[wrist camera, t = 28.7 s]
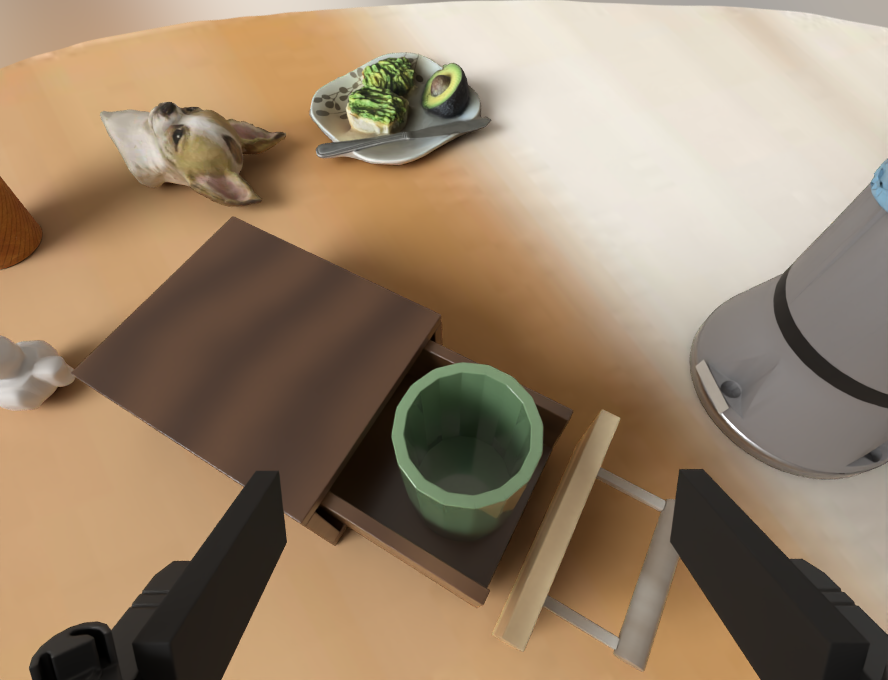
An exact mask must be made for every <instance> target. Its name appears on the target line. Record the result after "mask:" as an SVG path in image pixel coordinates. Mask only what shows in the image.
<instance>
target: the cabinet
mask: <svg viewBox="0 0 888 680" xmlns="http://www.w3.org/2000/svg"><path fill="white" fill-rule="evenodd" d="M429 340H431V341H433V342H435V343H437V344H439V345H441V346H442V322H441V315H440V314H438V313H436V312H434V311H432V310H430V309H428V308H426V307H423V306H421V305H419V304H417V303H415V302H413V301H411V300H409V299H407V298H404V297H402V296H400V295H398V294H396V293H394V292H392V291H390V290H388V289H385V288H383V287H381V286H379V285H377V284H375V283H373V282H371V281H369V280H366V279H364V278H362V277H360V276H358V275H356V274H354V273H352V272H350V271H347V270H345V269H343V268H341V267H339V266H337V265H335V264H333V263H331V262H328V261H326V260H324V259H322V258H320V257H318V256H316V255H314V254H312V253H309V252H307V251H305V250H303V249H301V248H299V247H297V246H295V245H293V244H290V243H288V242H286V241H284V240H282V239H280V238H278V237H276V236H274V235H271V234H269V233H267V232H265V231H263V230H261V229H259V228H257V227H255V226H252V225H250V224H248V223H246V222H244V221H242V220H240V219H238V218H236V217H231V218H230V219H229V220H228V221H227V222H226V223H225V224H224V225H223V226H222V227H221V228H220V229H219V230H218V231H217V232H216V233H215V234H214V235H213V236H212V237H211V238H210V239H209V240H208V241H207V242H206V243H205V244H203V245H202V246H201V247H200V248H199V249H198V250H197V251H196V252H195V253H194V254H193V255H192V256H191V257H190V258H189V259H188V260H187V261H186V262H185V263H184V264H183V265H182V266H181V267H180V268H179V269H178V270H177V271H176V272H175V273H173V274H172V275H171V276H170V277H169V278H168V279H167V280H166V281H165V282H164V283H163V284H162V285H161V286H160V287H159V288H158V289H157V290H156V291H155V292H154V293H153V294H152V295H151V296H150V297H149V298H148V299H147V300H146V301H145V302H144V303H142V304H141V305H140V306H139V307H138V308H137V309H136V310H135V311H134V312H133V313H132V314H131V315H130V316H129V317H128V318H127V319H126V320H125V321H124V322H123V323H122V324H121V325H120V326H119V327H118V328H117V329H116V330H115V331H114V332H112V333H111V334H110V335H109V336H108V337H107V338H106V339H105V340H104V341H103V342H102V343H101V344H100V345H99V346H98V347H97V348H96V349H95V350H94V351H93V352H92V353H91V354H90V355H89V356H88V357H87V358H86V359H85V360H84V361H82V362H81V363H80V364H79V365H78V366H77V367H76V368H75V369H74V370H73V371H72V372H71V375H73V376H74V377H76V378H77V379H79V380H80V381H82V382H83V383H85V384H87V385H88V386H90V387H91V388H93V389H94V390H96V391H97V392H99V393H100V394H102V395H103V396H105V397H107V398H108V399H110V400H111V401H113V402H114V403H116V404H117V405H119V406H120V407H122V408H123V409H125V410H126V411H128V412H130V413H131V414H133V415H134V416H136V417H137V418H139V419H140V420H142V421H143V422H145V423H146V424H148V425H150V426H151V427H153V428H154V429H156V430H157V431H159V432H160V433H162V434H163V435H165V436H166V437H168V438H169V439H171V440H173V441H174V442H176V443H177V444H179V445H180V446H182V447H183V448H185V449H186V450H188V451H189V452H191V453H193V454H194V455H196V456H197V457H199V458H200V459H202V460H203V461H205V462H206V463H208V464H209V465H211V466H212V467H214V468H216V469H217V470H219V471H220V472H222V473H223V474H225V475H226V476H228V477H229V478H231V479H232V480H234V481H236V482H237V483H239V484H240V485H242V486H243V487H245V485H246V484H247V482H248V481H249V480H250V478H251V477H252V476H253V474H254V473H255V471H279V474H280V483H281V493H282V502H283V511H284V513H285V514H286V515H288V516H289V517H291V518H292V519H294V520H295V521H297V522H299V523H300V524H302V525H303V526H305V527H306V528H308V529H309V530H311V531H312V532H314V533H316V534H317V535H319V536H320V537H322V538H323V539H325V540H326V541H328V542H330V543H331V544H333V545H334V546H335V545H336V544H337V542H338V541H339V539H340V537H341V536H342V534H343V533H344V531H345V529H346V528H347V526H346V525H345V524H343V523H341V522H340V521H338V520H337V519H335V518H334V517H332V516H330V515H329V514H327V513H326V512H324V511H323V510H321V509H319V508H318V506H319V505H320V503H321V502H322V500H323V499H324V497H325V496H326V494H327V493H328V491H329V490H330V488H331V487H332V485H333V484H334V482H335V481H336V479H337V478H338V476H339V475H340V473H341V472H342V470H343V469H344V467H345V466H346V464H347V463H348V461H349V460H350V458H351V457H352V455H353V454H354V452H355V451H356V449H357V448H358V446H359V445H360V443H361V442H362V440H363V439H364V437H365V436H366V434H367V433H368V431H369V430H370V428H371V427H372V425H373V424H374V422H375V421H376V419H377V418H378V416H379V415H380V413H381V412H382V410H383V409H384V407H385V406H386V404H387V403H388V401H389V400H390V398H391V397H392V395H393V394H394V392H395V391H396V389H397V388H398V386H399V385H400V383H401V382H402V380H403V379H404V377H405V376H406V374H407V373H408V371H409V370H410V368H411V367H412V365H413V364H414V362H415V361H416V359H417V358H418V356H419V355H420V353H421V352H422V350H423V349H424V347H425V346H426V344H427V343H428V341H429Z"/></svg>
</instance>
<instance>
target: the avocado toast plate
mask: <svg viewBox="0 0 888 680" xmlns="http://www.w3.org/2000/svg"><path fill="white" fill-rule="evenodd" d="M310 116H311V118H312V120H313V121H314V122H315V123H316V124H317V126H318V127H319V128H320V129H321V130H322V131H323V132H324V134H325V135H326V136H327V137H329V138H330V139H331V140H332V141H333V143H325V144H321V145H319V146H318V147H317V148H316V153H317V156H318V157H320V158H335V157H350V158H355V159H359V160H362V161H365V162H368V163H373V164H389V165H402V164H405V163H409V162H412V161H414V160H417V159H419V158H421V157H423V156H425V155H427V154H428V153H430V152H432V151H433V150H435V149H437V148H438V147H440V146H442V145H444V144H446V143H448V142H450V141H452V140H453V139H455V138H457V137H459V136H461V135H464V134H467V133H469V132H472V131H475V130H478V129H481V128H483V127H485V126H487V124H488V123H489V122H490V121H491V119H489V118H488V117H481V103H480V98H479V96H478V94H477V93H476V92H475V91H474V90H473V89H472V88H471V87H470V86H469V85H468V83H467V78H466V76H465V74H464V71H463V70H462V68H461V67H460V66H459V65H457V64H455V63H450V64H448V65H443V68H442V67H441V66H439V65H438V64H437V63H435V62H434V61H432V60H431V59H429V58H427V57H425V56H422V55H419V54H415V53H407V52H405V53H390V54H386V55H382V56H380V57H377V58H375V59H373V60H371V61H370V62H368V63H366V64H364V65H363V66H361V67H359V68H357V69H355V70H354V71H352V72H349V73H348V74H346V75H344V76H342V77H338V78H337V79H336V80H333V81H332V82H330V83H328V84H326V85H324V86H323V87H321V88H320V89H319V90H318V91H317V92H316V93H315V95H314V97H313V99H312V103H311V109H310Z"/></svg>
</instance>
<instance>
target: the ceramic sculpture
mask: <svg viewBox="0 0 888 680" xmlns="http://www.w3.org/2000/svg"><path fill="white" fill-rule="evenodd" d="M100 116H101V120H102V122H103V123H104V125H105V127H106V130H107V132H108V134H109V136H110V138H111V139H112V141H113V142H114V144H115V145H116V147H117V148H118V150H119V152H120V154H121V155H122V157H123V159H124V161H125V163H126V165H127V167H128V169H129V171H130V172H131V173H132V174H133V175H134V177H135V178H136V179H137V180H138V181H139V182H140V183H141V184H143V185H145V186H148V187H160V186H161V185H162V184H163V183H164V182H171V183H175V184H181V185H186V186H190V187H191V188H192V189H193V190H195V191H196V192H198V193H199V194H201V195H204V196H205V197H206V198H209V199H210V200H212V201H214V202H217V203H219V204H222V205H225V206H245V205H250V204H255V203H259V202H261V201H262V199H261V198H260V197H259V196H257V195H256V194H255V192H254V191H253V189H252V188H251V186H250V185H249V184H248V182H247V181H246V180H245V179H243V178H242V177H241V176H240V175H239V172H240V171H241V169H242V166H243V154H260V153H263V152H264V151H266V150H268V149H270V148H271V147H273V146H274V145H276V144H277V143H279V142H280V141H281V140H283V139H284V138H285V137H286V133H283V132H274V133H272V132H268V131H266V130H264V129H262V128H259V127H255V126H254V125H253V124H249V123H247V122H244V121H241V122H239V121H236V120H234V119H229V120H226V119H225V118H224V117H222V116H221V115H219V114H218V113H216V112H214V111H212V110H201V109H200V108H199V107H188V108H187V107H185V108H180V107H178V106H177V105H176V104H174V103H172V102H164V103H160V104H159V105H158V106H156V107H154V108H153V109H152V110H151V112H150V113H149V112H145V111H137V110H124V111H116V112H106V111H103V112H101V113H100Z"/></svg>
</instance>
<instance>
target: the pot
mask: <svg viewBox="0 0 888 680" xmlns="http://www.w3.org/2000/svg"><path fill="white" fill-rule="evenodd" d="M391 435H392V442H393V446H394V450H395V455H396V459H397V463H398V466H399V469H400V472H401V475H402V478H403V481H404V484H405V487H406V490H407V493H408V495H409V498H410V501H411V504H412V507H413V509H414V510H415V512H416V514H417V515H418V517H419V519H420V520H421V521H422V522H423V524H424V525H425V526H426V527H427V528H429V529H430V530H431V531H432V532H434V533H435V534H437V535H439V536H441V537H443V538H445V539H448V540H452V541H458V542H469V541H475V540H480V539H482V538H485V537H487V536H489V535H491V534H492V533H494V532H495V531H496V530H498V529H499V528H500V527H501V526H502V525H503V524H504V523H505V521H507V519H508V518H509V517H510V515H511V513H512V511H513V509H514V508H515V506H516V504H517V502H518V500H519V499H520V497H521V495H522V493H523V492H524V490H525V488H526V486H527V484H528V483H529V481H530V479H531V477H532V475H533V473H534V471H535V469H536V466H537V464H538V462H539V460H540V458H541V456H542V453H543V422H542V420H541V417H540V415H539V412H538V410H537V407H536V405H535V402H534V400H533V398H532V396H531V395H530V394H529V393H528V392H527V391H526V390H525V389H524V388H523V387H522V386H521V385H520V384H519V383H518V382H517V381H516V379H515V378H513V377H512V376H510V375H508V374H506V373H504V372H502V371H500V370H498V369H496V368H494V367H492V366H490V365H484V364H474V363H465V362H461V363H456V364H452V365H448V366H444V367H440V368H436V369H434V370H432V371H430V372H429V373H428V374H426V375H425V376H423V377H422V378H421V379H419V380H418V381H416V382H415V383H413V384H412V385H411V386H410V388H409V389H408V391H407V392H406V394H405V395H404V397H403V398H402V400H401V401H400V403H399V404H398V406H397V409H396V412H395V418H394V423H393V429H392V434H391Z"/></svg>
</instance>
